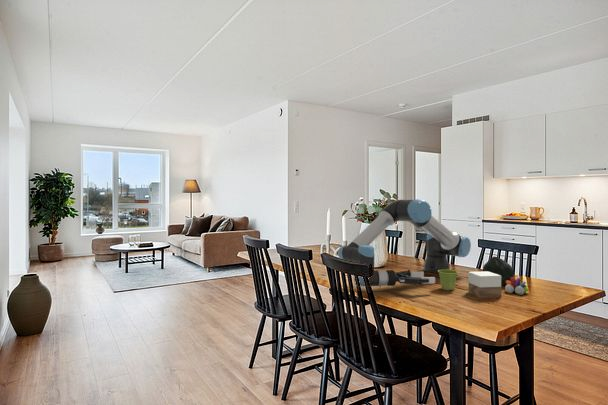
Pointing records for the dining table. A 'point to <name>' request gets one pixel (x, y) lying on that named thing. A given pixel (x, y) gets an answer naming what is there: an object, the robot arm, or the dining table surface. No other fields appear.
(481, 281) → the pale top block
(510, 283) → the rainbow petal cluster
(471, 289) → the walnut base block
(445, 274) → the plant pot
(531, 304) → the dining table surface
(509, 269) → the squash
